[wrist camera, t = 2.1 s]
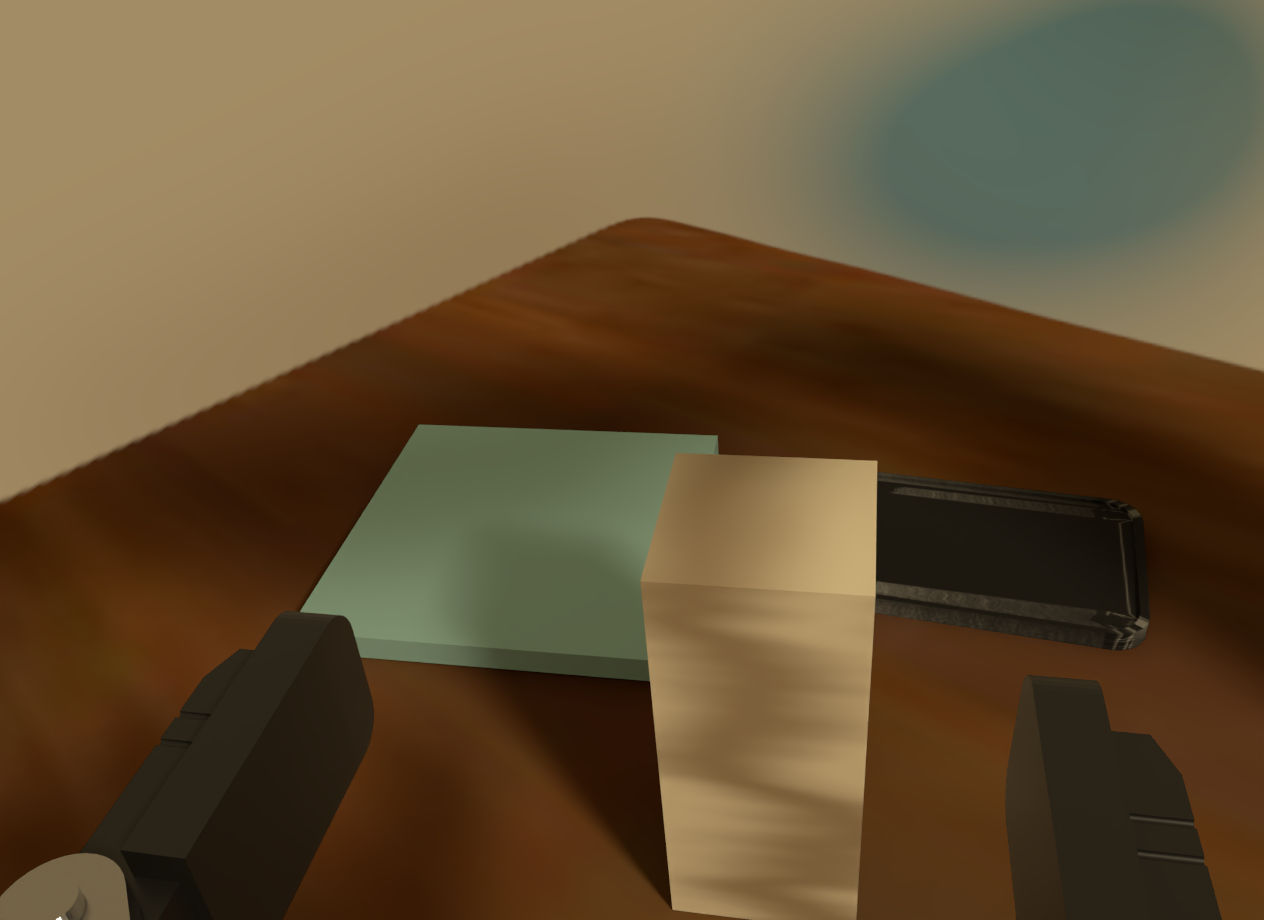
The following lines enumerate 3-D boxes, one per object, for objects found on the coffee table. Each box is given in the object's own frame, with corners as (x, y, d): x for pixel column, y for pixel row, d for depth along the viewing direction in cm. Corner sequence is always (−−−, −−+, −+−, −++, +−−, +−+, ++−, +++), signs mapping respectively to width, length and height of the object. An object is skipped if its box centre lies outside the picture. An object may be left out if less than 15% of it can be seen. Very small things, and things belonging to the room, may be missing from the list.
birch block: (859, 783, 34) (877, 461, 27) (855, 932, 30) (875, 596, 23) (697, 768, 35) (676, 452, 28) (672, 909, 31) (640, 580, 24)
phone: (1151, 639, 37) (716, 572, 41) (1145, 663, 37) (717, 595, 42) (1141, 501, 43) (763, 456, 47) (1136, 523, 43) (763, 477, 48)
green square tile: (718, 454, 49) (717, 435, 48) (668, 682, 38) (666, 661, 37) (423, 442, 52) (419, 424, 51) (294, 651, 40) (287, 631, 40)
